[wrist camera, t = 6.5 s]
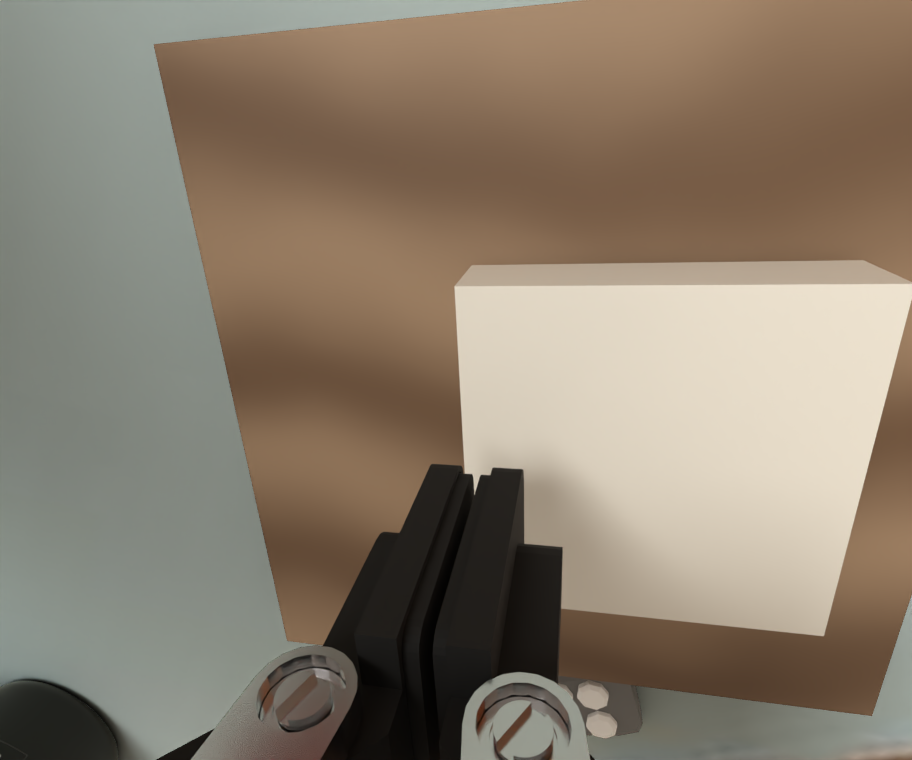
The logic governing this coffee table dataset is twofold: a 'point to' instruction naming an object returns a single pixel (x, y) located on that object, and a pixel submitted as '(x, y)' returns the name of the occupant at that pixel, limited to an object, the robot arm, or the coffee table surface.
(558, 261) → the board
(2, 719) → the supplement bottle
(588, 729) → the key chain
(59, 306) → the coffee table surface
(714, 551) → the tile
